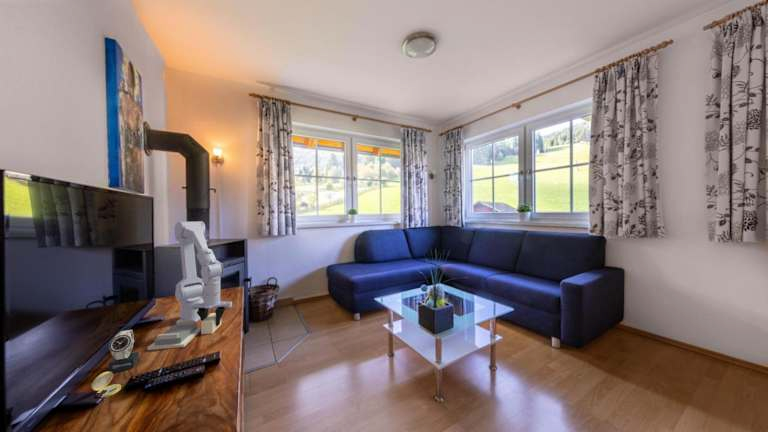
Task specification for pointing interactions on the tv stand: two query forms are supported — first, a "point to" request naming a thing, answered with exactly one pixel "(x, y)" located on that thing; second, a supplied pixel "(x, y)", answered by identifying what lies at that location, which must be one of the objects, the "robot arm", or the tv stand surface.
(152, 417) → the tv stand surface
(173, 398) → the tv stand surface
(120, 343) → the watch
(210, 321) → the cream rectangular box
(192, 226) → the robot arm
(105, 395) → the gold round case
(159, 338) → the display stand
